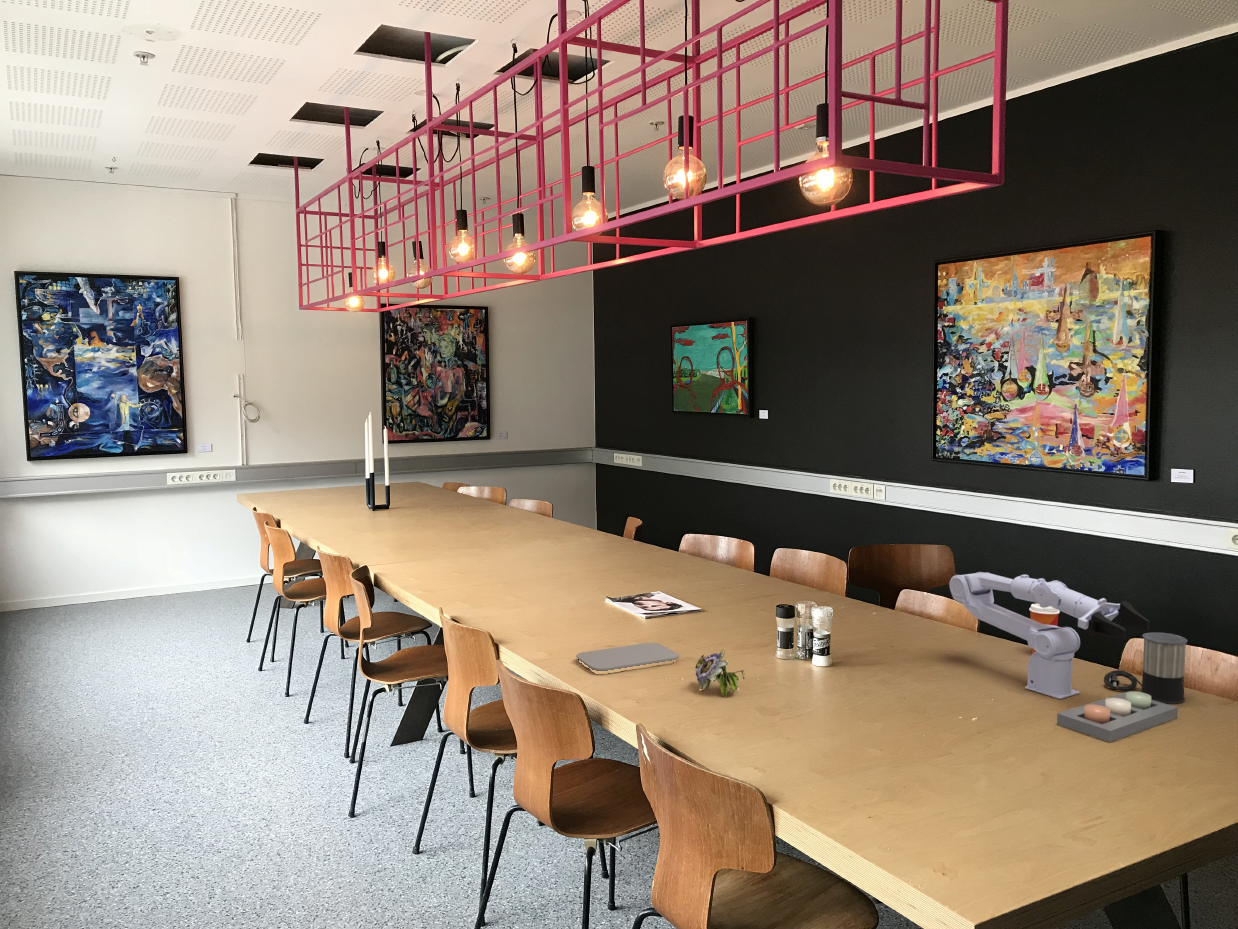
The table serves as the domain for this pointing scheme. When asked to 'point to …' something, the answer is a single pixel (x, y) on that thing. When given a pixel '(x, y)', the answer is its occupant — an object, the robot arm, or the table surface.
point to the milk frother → (1158, 669)
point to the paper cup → (1044, 615)
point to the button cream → (1118, 706)
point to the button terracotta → (1097, 713)
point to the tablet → (627, 656)
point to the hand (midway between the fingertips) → (1136, 630)
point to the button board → (1117, 720)
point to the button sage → (1139, 699)
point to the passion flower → (716, 673)
